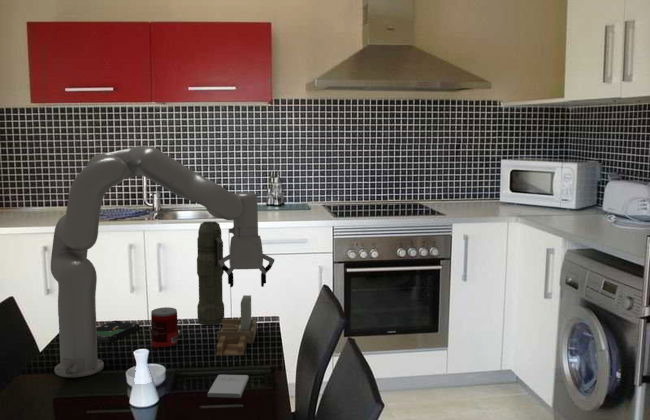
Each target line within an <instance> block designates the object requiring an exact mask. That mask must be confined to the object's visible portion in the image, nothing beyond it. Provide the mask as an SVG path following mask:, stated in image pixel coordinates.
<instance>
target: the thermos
mask: <svg viewBox="0 0 650 420" xmlns="http://www.w3.org/2000/svg"><path fill="white" fill-rule="evenodd" d="M196 239H197V242H196V243H197V257H196V274H197V276H198V303H197V305H196V306H197V310H196V311H197V319H198V320H197V321H198V324H199V325H203V326H217V325H221V324H222V319H225V304H224V301H223V275H224V274H225V271H224V270H223V269H222V267H221V266H220V264H219V260H220V259H222V258H224V242H223V239H222V229H221V226H220V223H218V222H216V221H203V222H201V223H200V224H199V227H198V236H197V238H196Z"/></svg>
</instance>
